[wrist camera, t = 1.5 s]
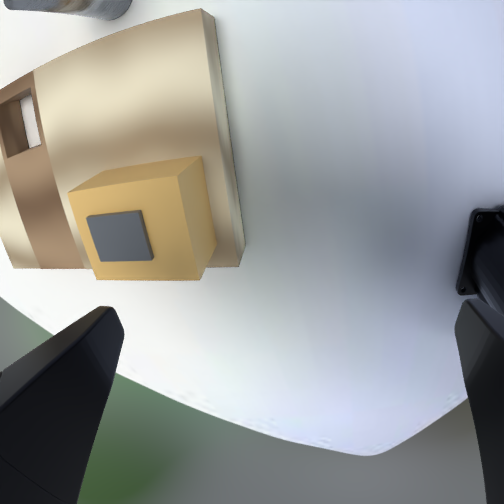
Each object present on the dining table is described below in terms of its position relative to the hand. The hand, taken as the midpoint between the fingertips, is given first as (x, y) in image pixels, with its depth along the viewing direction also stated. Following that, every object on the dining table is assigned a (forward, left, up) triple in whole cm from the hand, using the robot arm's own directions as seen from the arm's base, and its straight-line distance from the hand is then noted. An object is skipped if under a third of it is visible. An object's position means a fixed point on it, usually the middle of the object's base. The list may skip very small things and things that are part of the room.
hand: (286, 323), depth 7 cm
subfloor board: (+3, +13, -12) cm, 18 cm away
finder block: (0, +7, -10) cm, 12 cm away
